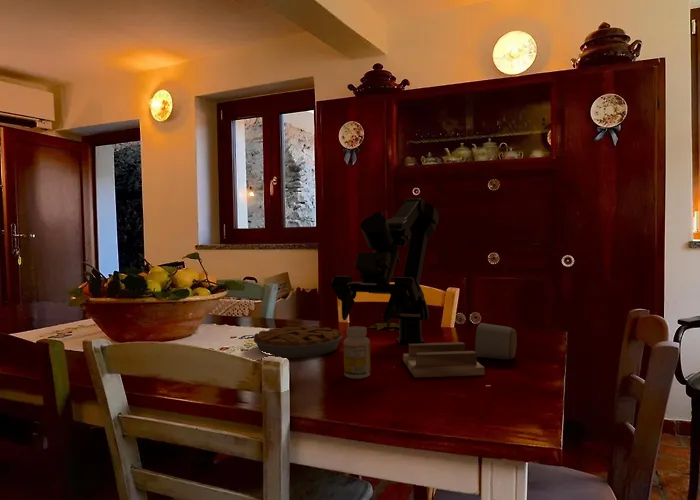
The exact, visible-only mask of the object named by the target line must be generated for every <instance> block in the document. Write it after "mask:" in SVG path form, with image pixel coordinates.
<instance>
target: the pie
mask: <svg viewBox="0 0 700 500" xmlns="http://www.w3.org/2000/svg"><path fill="white" fill-rule="evenodd" d="M342 339H343V335H342V334H341V331H339V330H338V329H337V328H330V327H329V326H324V327H322V326H320V327H319V325H311V326H309V325H304V324H298V325H296V326H290V325H286V326H282V327H281V328H276V327H275V328H270V329H269V330H260V331H259V332H258V333H255V334H254V337H253V343H255V344H256V345H257V347H258V350H259V351H260V350H261V351H263V352H266V353H270V354H274V355H275V356H281V357H280V358H282V357H285V358H284V359H296V358H297V359H298V358H300V359H301V358H311V357H315V356H321V355H325V354H329V353H332V352H334V351H336V350H337V349H338V346H339V344H340V342H341V340H342Z"/></svg>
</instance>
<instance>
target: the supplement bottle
mask: <svg viewBox="0 0 700 500" xmlns="http://www.w3.org/2000/svg"><path fill="white" fill-rule="evenodd" d="M367 329H368V327H366V326H362V325H361V326H360V325H354V326H348V327H347V328H346V335H347V337H345V339H344V340H343V373H344V374H343V375H344V376H345V377H346V378H350V379H355V380H357V379H365V378H368V377H370V375H371V340H370V338H368V337H366V336H367V333H368V330H367Z"/></svg>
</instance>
